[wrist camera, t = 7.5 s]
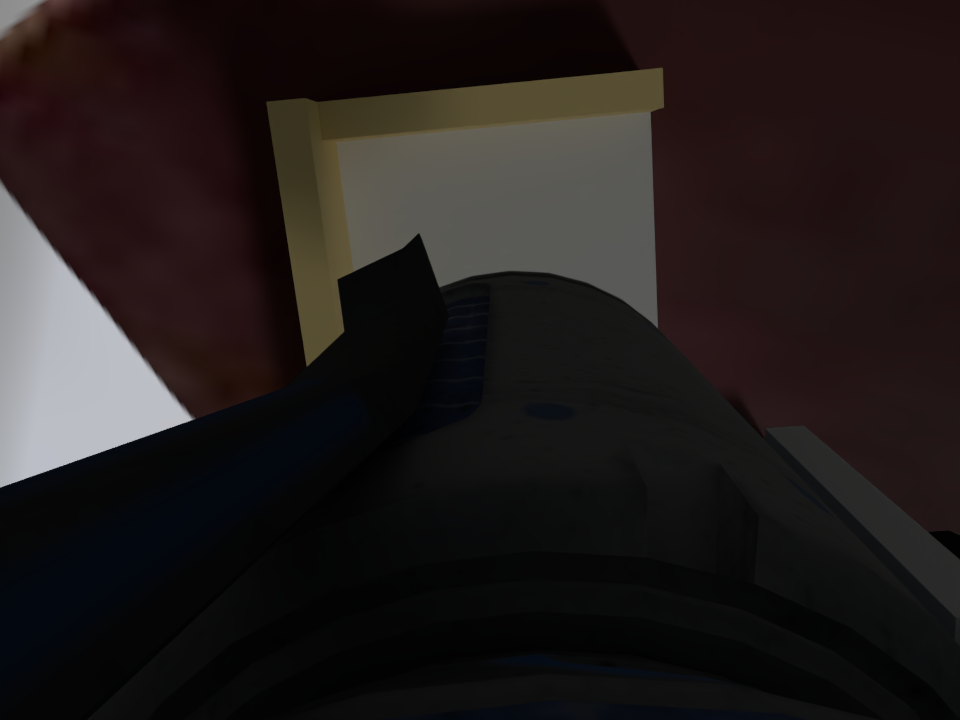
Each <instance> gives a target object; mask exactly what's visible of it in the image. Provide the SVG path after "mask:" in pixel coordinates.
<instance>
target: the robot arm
mask: <svg viewBox="0 0 960 720" xmlns="http://www.w3.org/2000/svg"><path fill="white" fill-rule="evenodd" d="M765 441H766V442H767V443H768V444H769V445H770V446H771V447H772V448H773V449H774V450H775V451H776V452H777V453H778V454H779V455H780V457H781V458H782V459H783V460H784V461H785V462H786V463H787V464H788V465H789V466H790V467H791V468H792V469H793V470H794V471H795V472H796V473H797V474H798V475H799V476H800V477H801V478H802V479H803V481H804V482H805V483H806V484H807V485H808V486H809V487H810V488H811V489H812V490H813V491H814V492H815V493H816V494H817V495H818V496H819V497H820V498H821V499H822V500H823V501H824V502H825V503H826V504H827V506H828V507H829V508H830V509H831V510H832V511H833V512H834V513H835V514H836V515H837V516H838V517H839V518H840V519H841V520H842V521H843V522H844V523H845V524H846V525H847V526H848V527H849V528H850V530H851V531H852V532H853V533H854V534H855V535H856V536H857V537H858V538H859V539H860V540H861V541H862V542H863V543H864V544H865V545H866V546H867V547H868V548H869V549H870V550H871V551H872V552H873V554H874V555H875V556H876V557H877V558H878V559H879V560H880V561H881V562H882V563H883V564H884V565H885V566H886V567H887V568H888V569H889V570H890V571H891V572H892V573H893V574H894V575H895V576H896V578H897V579H898V580H899V581H900V582H901V583H902V584H903V585H904V586H905V587H906V588H907V589H908V590H909V591H910V592H911V593H912V594H913V595H914V596H915V597H916V598H917V599H918V600H919V602H920V603H921V604H922V605H923V606H924V607H925V608H926V609H927V610H928V611H929V612H930V613H931V614H932V615H933V616H934V617H935V618H936V619H937V620H938V621H939V622H940V623H941V624H942V626H943V627H944V628H945V629H946V630H947V631H948V633H949V634H950V635H951V636H952V637H953V638H954V640H955V641H956V642H957V643H958V644H959V646H960V535H957V534H955V533H953V532H951V531H936V532H927V531H926V530H925V529H924V528H922V527H921V526H920V525H919V524H918V523H917V522H915V521H914V520H913V519H912V518H911V517H910V516H908V515H907V514H906V513H905V512H904V511H903V510H901V509H900V508H899V507H898V506H897V505H896V504H894V503H893V502H892V501H891V500H890V499H889V498H887V497H886V496H885V495H884V494H883V493H882V492H880V491H879V490H878V489H877V488H876V487H875V486H873V485H872V484H871V483H870V482H869V481H868V480H866V479H865V478H864V477H863V476H862V475H861V474H859V473H858V472H857V471H856V470H855V469H854V468H853V467H851V466H850V465H849V464H848V463H847V462H846V461H844V460H843V459H842V458H841V457H840V456H839V455H837V454H836V453H835V452H834V451H833V450H832V449H830V448H829V447H828V446H827V445H826V444H825V443H823V442H822V441H821V440H820V439H819V438H818V437H816V436H815V435H814V434H813V433H812V432H811V431H809V430H808V429H807V428H806V427H805V426H792V427H779V428H766V429H765ZM93 715H94V714H93ZM93 715H92V716H93ZM92 716H91V717H90V718H89V719H87V720H90V719H91V718H92Z"/></svg>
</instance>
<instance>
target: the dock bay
mask: <svg viewBox="0 0 960 720" xmlns="http://www.w3.org/2000/svg"><path fill="white" fill-rule="evenodd" d="M266 103H267V110H268V117H269V123H270V130H271V136H272V143H273V149H274V156H275V162H276V169H277V175H278V182H279V188H280V195H281V202H282V208H283V215H284V221H285V228H286V234H287V241H288V247H289V254H290V260H291V267H292V273H293V280H294V287H295V293H296V300H297V306H298V313H299V319H300V326H301V332H302V339H303V345H304V352H305V358H306V365H307V366H308V365H309V364H310V363H311V362H313V361H314V360H315V359H316V358H317V357H318V356H319V355H320V354H321V353H322V352H323V351H324V350H325V349H326V348H327V347H328V346H329V345H330V344H332V343H333V342H334V341H335V340H336V339H337V338H338V337H339V336H340V335H341V334H342V333H343V332H344V326H343V318H342V311H341V304H340V296H339V289H338V282H337V279H339V278H341V277H343V276H345V275H348V274H350V273H352V272H354V271H356V270H358V269H360V268H362V267H364V266H366V265H368V264H371V263H373V262H375V261H377V260H379V259H381V258H383V257H385V256H387V255H389V254H392V253H394V252H396V251H398V250H400V249H402V248H403V247H405V246H406V245H407V244H408V243H409V242H410V241H411V240H412V239H413V238H414V237H415V236H416V235H417V234H418V233H420V236H421V238H422V240H423V243H424V246H425V249H426V252H427V254H428V257H429V260H430V263H431V266H432V269H433V271H434V274H435V277H436V280H437V283H438V285H439V287H442V286H444V285H447V284H450V283H453V282H456V281H459V280H462V279H464V278H467V277H470V276H476V275H483V274H490V273H497V272H504V271H526V272H544V273H552V274H556V275H560V276H564V277H568V278H571V279H575V280H579V281H583V282H587V283H589V284H591V285H593V286H595V287H597V288H600V289H602V290H604V291H606V292H608V293H610V294H612V295H614V296H616V297H618V298H620V299H622V300H623V301H625V302H626V303H627V304H629V305H630V306H631V307H633V308H634V309H635V310H637V311H638V312H639V313H640V314H642V315H643V316H644V317H646V318H647V319H648V320H650V321H651V322H652V323H653V324H654V325H655V326H656V327H657V328H658V323H657V293H656V264H655V234H654V204H653V174H652V144H651V114H650V112H652V111H654V110H657V109H660V108H663V107H664V95H663V68H657V69H647V70H637V71H627V72H617V73H607V74H596V75H586V76H576V77H566V78H556V79H546V80H536V81H525V82H515V83H505V84H495V85H485V86H475V87H465V88H455V89H444V90H434V91H424V92H414V93H404V94H394V95H384V96H374V97H363V98H353V99H343V100H333V101H323V102H315V101H312V100H309V99H306V98H300V99H289V100H279V101H269V102H266Z"/></svg>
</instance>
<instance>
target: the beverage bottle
mask: <svg viewBox="0 0 960 720" xmlns="http://www.w3.org/2000/svg"><path fill="white" fill-rule="evenodd" d="M337 282H338V289H339V296H340V304H341V311H342V318H343V326H344V332H343V333H342V334H341V335H340V336H339V337H338V338H337V339H336V340H335V341H334V342H333V343H332V344H330V345H329V346H328V347H327V348H326V349H325V350H324V351H323V352H322V353H321V354H320V355H319V356H318V357H317V358H316V359H315V360H314V361H313V362H311V363H310V364H309V365H308V366H307V367H306V368H305V369H304V370H303V371H302V372H301V373H300V374H299V375H298V376H297V377H296V378H295V379H294V380H292V381H291V382H290V383H289V384H288V385H287V386H286V387H285V388H283V389H280V390H277V391H274V392H272V393H269V394H266V395H263V396H260V397H257V398H254V399H252V400H249V401H246V402H243V403H240V404H237V405H234V406H232V407H229V408H226V409H223V410H220V411H217V412H215V413H212V414H209V415H206V416H203V417H200V418H197V419H195V420H192V421H189V422H186V423H183V424H180V425H178V426H175V427H172V428H169V429H166V430H163V431H160V432H158V433H155V434H152V435H149V436H146V437H144V438H140V439H138V440H135V441H132V442H129V443H126V444H123V445H121V446H118V447H115V448H112V449H109V450H106V451H103V452H101V453H98V454H95V455H92V456H89V457H86V458H83V459H81V460H78V461H75V462H72V463H69V464H67V465H64V466H61V467H58V468H55V469H52V470H49V471H47V472H44V473H41V474H38V475H35V476H32V477H29V478H26V479H24V480H21V481H18V482H15V483H12V484H9V485H7V486H4V487H1V488H0V720H87V719H89V718H90V717H91V716H92V715H93V714H94V715H93V716H92V718H91V719H90V720H960V646H959V644H958V643H957V642H956V641H955V640H954V638H953V637H952V636H951V635H950V634H949V633H948V631H947V630H946V629H945V628H944V627H943V626H942V624H941V623H940V622H939V621H938V620H937V619H936V618H935V617H934V616H933V615H932V614H931V613H930V612H929V611H928V610H927V609H926V608H925V607H924V606H923V605H922V604H921V603H920V602H919V600H918V599H917V598H916V597H915V596H914V595H913V594H912V593H911V592H910V591H909V590H908V589H907V588H906V587H905V586H904V585H903V584H902V583H901V582H900V581H899V580H898V579H897V578H896V576H895V575H894V574H893V573H892V572H891V571H890V570H889V569H888V568H887V567H886V566H885V565H884V564H883V563H882V562H881V561H880V560H879V559H878V558H877V557H876V556H875V555H874V554H873V552H872V551H871V550H870V549H869V548H868V547H867V546H866V545H865V544H864V543H863V542H862V541H861V540H860V539H859V538H858V537H857V536H856V535H855V534H854V533H853V532H852V531H851V530H850V528H849V527H848V526H847V525H846V524H845V523H844V522H843V521H842V520H841V519H840V518H839V517H838V516H837V515H836V514H835V513H834V512H833V511H832V510H831V509H830V508H829V507H828V506H827V504H826V503H825V502H824V501H823V500H822V499H821V498H820V497H819V496H818V495H817V494H816V493H815V492H814V491H813V490H812V489H811V488H810V487H809V486H808V485H807V484H806V483H805V482H804V481H803V479H802V478H801V477H800V476H799V475H798V474H797V473H796V472H795V471H794V470H793V469H792V468H791V467H790V466H789V465H788V464H787V463H786V462H785V461H784V460H783V459H782V458H781V457H780V455H779V454H778V453H777V452H776V451H775V450H774V449H773V448H772V447H771V446H770V445H769V444H768V443H767V442H766V441H765V440H764V439H763V438H762V437H761V436H760V435H759V434H758V433H757V431H756V430H755V429H754V428H753V427H752V426H751V425H750V424H749V423H748V422H747V421H746V420H745V419H744V418H743V417H742V416H741V415H740V414H739V413H738V412H737V411H736V410H735V409H734V407H733V406H732V405H731V404H730V403H729V402H728V401H727V400H726V399H725V398H724V397H723V396H722V395H721V394H720V393H719V392H718V391H717V390H716V389H715V388H714V387H713V386H712V385H711V383H710V382H709V381H708V380H707V379H706V378H705V377H704V376H703V375H702V374H701V373H700V372H699V371H698V370H697V369H696V368H695V367H694V366H693V365H692V364H691V363H690V362H689V361H688V359H687V358H686V357H685V356H684V355H683V354H682V353H681V352H680V351H679V350H678V349H677V348H676V347H675V346H674V345H673V344H672V343H671V342H670V341H669V340H668V339H667V338H666V337H665V335H664V334H663V333H662V332H661V331H660V330H659V329H658V328H657V327H656V326H655V325H654V324H653V323H652V322H651V321H650V320H648V319H647V318H646V317H644V316H643V315H642V314H640V313H639V312H638V311H637V310H635V309H634V308H633V307H631V306H630V305H629V304H627V303H626V302H625V301H623V300H622V299H620V298H618V297H616V296H614V295H612V294H610V293H608V292H606V291H604V290H602V289H600V288H597V287H595V286H593V285H591V284H589V283H587V282H583V281H579V280H575V279H571V278H568V277H564V276H560V275H556V274H552V273H544V272H526V271H504V272H497V273H490V274H483V275H476V276H470V277H467V278H464V279H462V280H459V281H456V282H453V283H450V284H447V285H444V286H442V287H439V285H438V283H437V280H436V277H435V274H434V271H433V269H432V266H431V263H430V260H429V257H428V254H427V252H426V249H425V246H424V243H423V240H422V238H421V236H420V233H418V234H417V235H416V236H415V237H414V238H413V239H412V240H411V241H410V242H409V243H408V244H407V245H406V246H405V247H403V248H402V249H400V250H398V251H396V252H394V253H392V254H389V255H387V256H385V257H383V258H381V259H379V260H377V261H375V262H373V263H371V264H368V265H366V266H364V267H362V268H360V269H358V270H356V271H354V272H352V273H350V274H348V275H345V276H343V277H341V278H339V279H337Z"/></svg>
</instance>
